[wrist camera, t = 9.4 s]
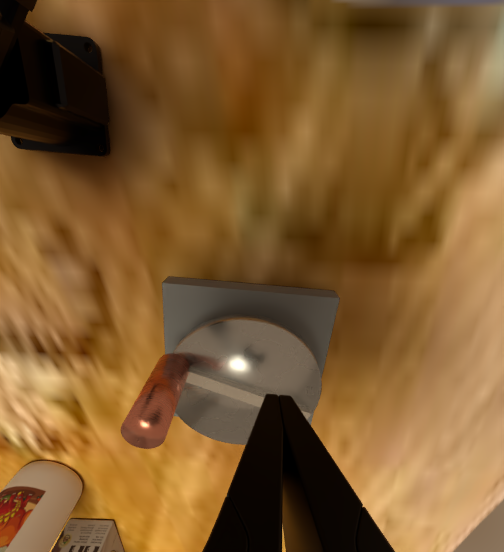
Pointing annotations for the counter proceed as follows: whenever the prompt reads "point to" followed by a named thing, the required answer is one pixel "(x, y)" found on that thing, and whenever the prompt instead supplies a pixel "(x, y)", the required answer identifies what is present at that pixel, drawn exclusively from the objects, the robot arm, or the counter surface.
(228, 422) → the handwheel
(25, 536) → the milk bottle
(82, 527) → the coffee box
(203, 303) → the base plate
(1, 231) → the counter surface
